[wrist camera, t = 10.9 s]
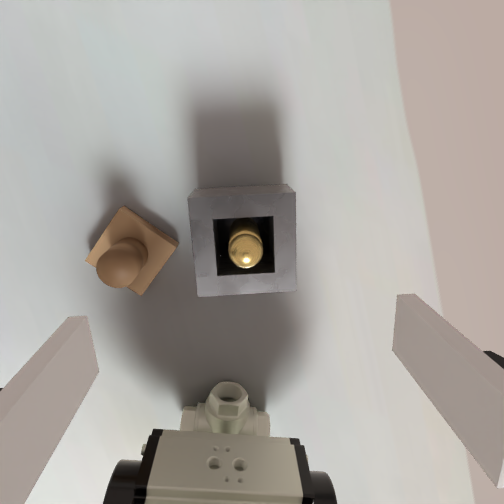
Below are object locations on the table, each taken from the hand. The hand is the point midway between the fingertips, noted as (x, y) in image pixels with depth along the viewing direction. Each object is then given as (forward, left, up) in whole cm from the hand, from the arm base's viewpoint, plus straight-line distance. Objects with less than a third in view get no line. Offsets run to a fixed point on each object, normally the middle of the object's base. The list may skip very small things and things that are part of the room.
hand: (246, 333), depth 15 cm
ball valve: (+11, -18, -20) cm, 29 cm away
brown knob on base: (-7, -8, -19) cm, 22 cm away
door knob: (0, 0, -19) cm, 19 cm away
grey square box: (0, 0, -18) cm, 18 cm away
